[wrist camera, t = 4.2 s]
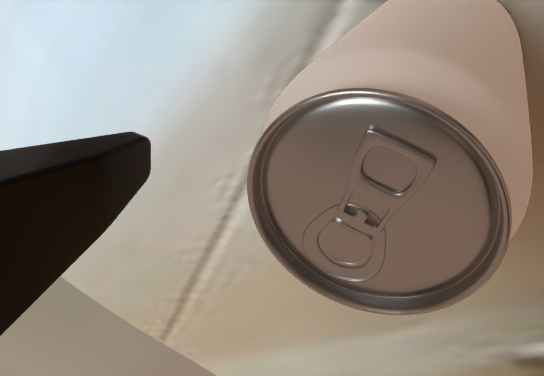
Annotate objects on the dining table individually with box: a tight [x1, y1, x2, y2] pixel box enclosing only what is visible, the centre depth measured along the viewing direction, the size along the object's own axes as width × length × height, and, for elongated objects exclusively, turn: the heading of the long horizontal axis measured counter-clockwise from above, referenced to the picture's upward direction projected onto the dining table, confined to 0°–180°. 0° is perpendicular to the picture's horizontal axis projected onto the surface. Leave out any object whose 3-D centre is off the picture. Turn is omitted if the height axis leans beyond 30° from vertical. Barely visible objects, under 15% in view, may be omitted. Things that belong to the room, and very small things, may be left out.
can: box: [247, 0, 533, 315], centre depth 14 cm, size 6×6×12 cm
